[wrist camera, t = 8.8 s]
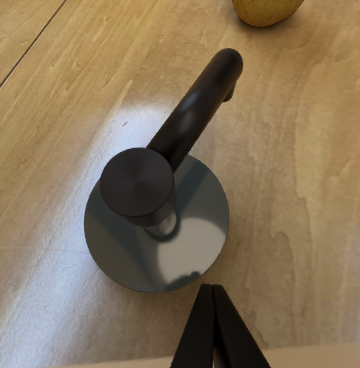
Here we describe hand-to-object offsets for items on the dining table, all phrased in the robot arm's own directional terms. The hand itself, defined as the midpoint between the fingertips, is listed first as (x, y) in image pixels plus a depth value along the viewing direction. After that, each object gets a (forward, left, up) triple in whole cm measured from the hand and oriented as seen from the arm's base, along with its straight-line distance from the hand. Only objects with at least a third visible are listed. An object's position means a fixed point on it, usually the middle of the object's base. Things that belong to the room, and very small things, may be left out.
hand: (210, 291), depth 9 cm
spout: (+9, 0, -4) cm, 10 cm away
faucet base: (+6, +3, -9) cm, 11 cm away
